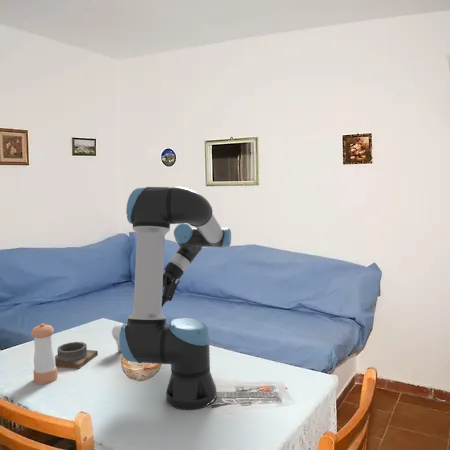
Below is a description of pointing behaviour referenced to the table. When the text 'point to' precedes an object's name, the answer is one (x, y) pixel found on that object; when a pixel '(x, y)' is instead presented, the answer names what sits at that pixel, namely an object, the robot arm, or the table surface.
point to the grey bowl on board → (73, 355)
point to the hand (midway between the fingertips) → (145, 309)
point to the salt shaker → (44, 354)
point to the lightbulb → (117, 334)
